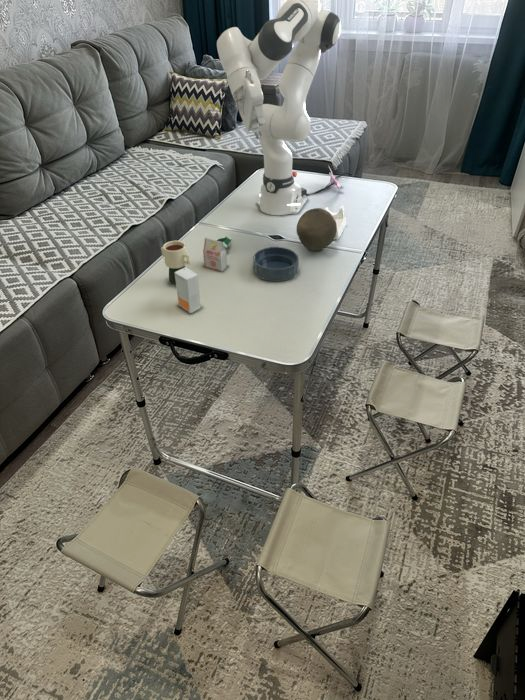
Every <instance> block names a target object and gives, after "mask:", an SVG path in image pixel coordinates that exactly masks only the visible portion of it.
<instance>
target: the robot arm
mask: <svg viewBox="0 0 525 700" xmlns="http://www.w3.org/2000/svg"><path fill="white" fill-rule="evenodd" d="M341 32H342V20H341V17H340V16H339V15H338V14H336V13H334V12H332V11H331V12H330V11H328V10H326V9H323V8H321V3H320V0H286V1H285V2H284V3H283V4H282V6H281V7H280V8H279V10H278V11H277V14H276V16H275V18H273V19H272V18H271V19H269V20H267V21H266V22H265V23H264V24H263V25H262V27H261V28H260V30H259V32H258V33H257V35H255V37H254V39H252V40H251V39H249V38H247V37H246V36H244V34H242V32H241V30H240V29H239V27H237V26H232V27H229V28H227V29H226V30H224V31H223V32H222V33H221V34H220V35H219V37H218V39H217V40H216V49H217V54H218V58H219V61H220V65H221V67H222V70H223V71H224V72H225V74H226V81H227V84H228V87H229V90H230V93H231V96H232V100H233V104H234V107H235V108H236V109H238V112H239V115H240V118H241V120H242V123H243V125H244V127H245V129H246V130H247V131H248V132H252V133H253V134H254V136H255V140H258V141H259V144H260V146H261V149H262V154H263V174H262V185H261V186H260V193H259V195H258V196H259V200H258V201H257V204H256V205H257V206H258V207H259V209H260V211H261V212H262V213H264V214H267V215H271V216H285V215H296V214H298V213H299V212H300V211H301V209H302V208H303V206H304V205H305V204H306V202H308V201H307V200H308V198H307V197H308V196H311V195H316V194H319V193H321V192H323V191H325V190H327V189H328V188H331V187H332V185H334V184H331V183H330V184H329V185H328V184H327V185H328V186H327V185H326V186H327V187H326V186H325V187H326V188H325V187H323V188H321V189H319V190H317V191H315V192H313V193H307V192H308V190H307V188H304V187H302V186H300V185H299V184H298V183H296V182H295V178H297V176H298V172H297V171H293V160H294V159H293V157H294V156H293V153H292V151H291V150H290V149H289V148H288V146H287V145H286V143H285V142H289V143H301V142H304V141H305V140H306V139H307V138H308V136H309V134H310V133H311V128H312V122H311V118H310V117H309V115H308V113H307V110H306V109H307V108H306V101H307V96H308V93H309V91H310V88H311V85H312V83H313V80H314V78H315V75H316V72H317V70H318V66H319V63H320V60H321V59H320V58H321V54H325V53H326V51H328V50H330V49H332V48H333V47H334V46H335V45H336V44H337V42H338V40H339V37H340V35H341ZM295 43H296V45H295V46H294V44H295ZM290 53H291V54H290ZM289 54H290V55H289ZM288 55H289V57H288V59H287V62H286V65H285V66H284V69H283V72H282V74H281V77H280V78H279V81H278V90H279V93H280V94H281V96H282V97H283V99H284V100H283V103H282V105H275V104H271V103H264V93H263V90H262V84H261V82H262V81H264V80H266V78H268V77H269V76H270V74H271V73H272V72H273V71H274V70H275V69H276V68H277V67H278V66H279V64H280V63H281V62H282V61H283V60H284V59H285V58H286V57H287V56H288ZM345 175H349V176H353V174H352V173H351V172H343V173H341V174H339V175H337V176H334V178H335V179H336V180H338V179H339V178H341V177H342V176H345ZM337 178H338V179H337ZM324 189H325V190H324ZM306 196H307V197H306Z"/></svg>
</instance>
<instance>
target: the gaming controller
mask: <svg viewBox="0 0 525 700" xmlns="http://www.w3.org/2000/svg"><path fill="white" fill-rule="evenodd" d="M216 241H220V242H223V244H224V247H225V249H226V250H227V249H228V247H229V245H230V244H231V242H232V237H231V236H229V235H226V236H225V237H221V238H218V239H217V240H216Z"/></svg>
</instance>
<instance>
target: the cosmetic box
mask: <svg viewBox="0 0 525 700" xmlns="http://www.w3.org/2000/svg"><path fill="white" fill-rule="evenodd" d="M175 280H176V285H175V287H176V295H177V303H178V306H179V307H180V308H182V309H183V310H185V311H186V312H188V313H189V314H192V313H194V312H197V311H199V310H200V309H201V308H202V306H201V305H202V304H201V296H200V295H201V294H200V285H199V275H198V274H197V273H195V272H194V271H193V270H191V269H189V268H187V267H185V268H183V269H180V270H178V271H176V272H175Z"/></svg>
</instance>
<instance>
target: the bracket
mask: <svg viewBox="0 0 525 700" xmlns="http://www.w3.org/2000/svg"><path fill="white" fill-rule="evenodd" d="M323 209H324V210H326V211H328V212H330V213H331V214H332V216H333V217H334V219H335V221H336V225H337V232H336V235H335V238H334V239H333V240H340V238H341V236H342V234H343V232H344V230H345V229H346V226H347V218H346V212H345V206H344V205H340V207H339V211H337V212H332V211H331V210H330V209H329V206H327V207H324V208H323Z"/></svg>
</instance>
